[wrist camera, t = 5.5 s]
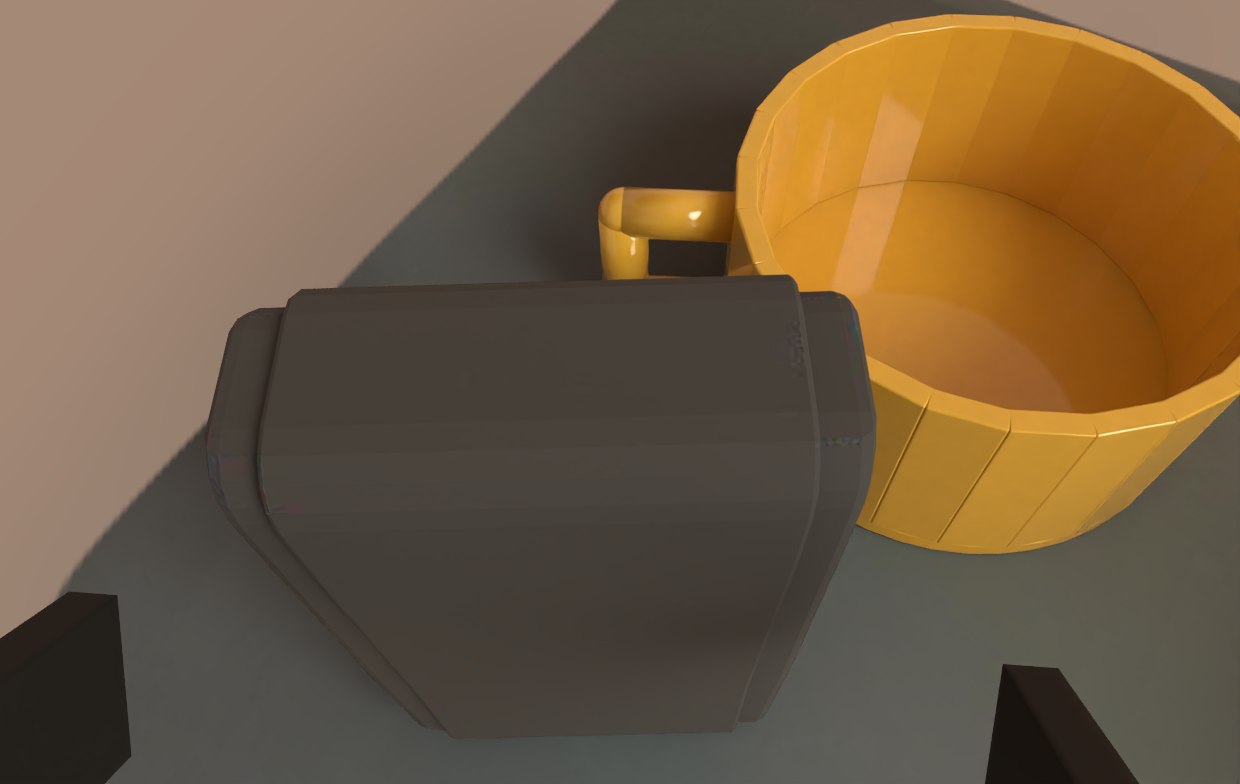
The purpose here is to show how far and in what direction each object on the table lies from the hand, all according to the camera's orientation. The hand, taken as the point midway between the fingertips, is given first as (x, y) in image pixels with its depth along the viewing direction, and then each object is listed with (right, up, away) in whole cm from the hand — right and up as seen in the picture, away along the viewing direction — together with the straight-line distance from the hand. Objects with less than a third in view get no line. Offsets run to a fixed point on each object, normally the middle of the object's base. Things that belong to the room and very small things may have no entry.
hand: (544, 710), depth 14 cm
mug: (+10, +6, +17) cm, 20 cm away
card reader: (+1, -3, +12) cm, 12 cm away
